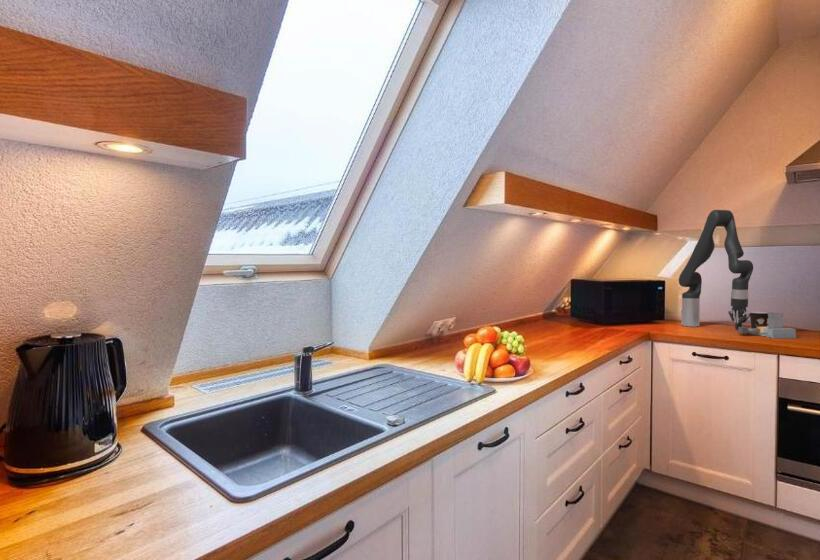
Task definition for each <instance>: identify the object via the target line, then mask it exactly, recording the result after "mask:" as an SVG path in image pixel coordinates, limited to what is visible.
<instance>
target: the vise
mask: <svg viewBox="0 0 820 560" xmlns="http://www.w3.org/2000/svg"><path fill="white" fill-rule="evenodd" d="M796 332H797V331H796V328H790V327H785V328H784V327H783V328H775V329H768V333H758V332H757V331H753V332H748V333H749V334H748V335H753V334H754V335H753V336H758V335H761V336H760V337H763V336H766V337H765V338H769V337H771V338H770V339H796V338H797V335H796Z"/></svg>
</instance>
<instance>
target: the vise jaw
mask: <svg viewBox="0 0 820 560" xmlns="http://www.w3.org/2000/svg"><path fill="white" fill-rule="evenodd" d="M753 331H757V332H758V333H768V326H766V327H757V328H749V327H746V326H742V327H738V330H737V333H739V334H747V333H748V332H753Z"/></svg>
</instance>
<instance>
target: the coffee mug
mask: <svg viewBox="0 0 820 560" xmlns="http://www.w3.org/2000/svg"><path fill="white" fill-rule="evenodd" d="M749 314H750V317H749V320H750V326H751V328H757V327H768V312H766V311H765V312H764V311H749Z"/></svg>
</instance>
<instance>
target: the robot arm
mask: <svg viewBox="0 0 820 560" xmlns="http://www.w3.org/2000/svg"><path fill="white" fill-rule="evenodd" d="M717 227H721V228H722V227H723V228H724V230H725V231H726V234H725V235H726V237H725V239H724V241H723V242H724V243H723V244H724V249H725V252H726V255H727V258H728V259H727V260H728V269H729V271H730V272H731V274H740V275H739V276H738V277H735V278H733V279H732V283H731V292H730V306H731V310H729V311H728V315H729V317H730V319H731V321H732V322H734V328H735V330H736V331H738V327H743V324H745V323H746V322H747V320H748V319H750V313H747V308H748V307H749V297H750V296H749V282H750V279H751V276H752V273H753V272H754V264H753V262H752V261H751V260H749V259H743V260H742V259H741V258H742V257H744V255H745V253H744V250H743V248H742V245H741V242H740V240H739V237H738V231H737V226H736V219H735V216H734V213H733V212H732V211H731V210H728V209H727V210H726V209H713V210H711V211H710V212H709V214H708V216H707V218H706V220H705V223H704V227H703V229H702V232H701V234H700V236H699V239H698V241H697V243H696V244H695V247H694V249H693V251H692V253H691V256H690V257H689V259H688V261H687V263H686V265H685V266H684V268H683V269H682V271H681V272H680V275H679V277H678V283H679V286H681V287H684V288H688V290H686V291H685V292H683V293H682V294H681V310H680V311H681V313H680V314H681V315H680V316H681V317H680V318H681V320H680V321H681V322H680V324H681V326H682V325H683V327H690V328H691V327H692V328H695V327H696V328H697V326H698V327H700V309H701V307H700V306H701V305H700V302H701V301H700V300H701V299H700V297H701V293H702V283H703V282H702V275H701V273H699V272H698V271H696V270H697V269H699V268H700V267H701V266H702V265H704V263H706V262H707V261H708V260H709V259H710V258H711V256H712V254H713V252H714V250H715V241H714V232H715V230H716V228H717ZM740 259H741V260H740Z"/></svg>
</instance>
